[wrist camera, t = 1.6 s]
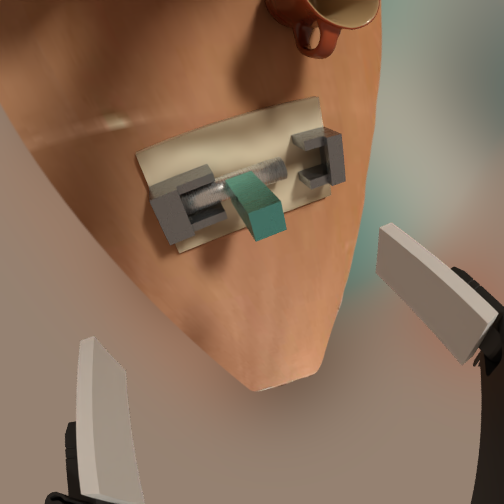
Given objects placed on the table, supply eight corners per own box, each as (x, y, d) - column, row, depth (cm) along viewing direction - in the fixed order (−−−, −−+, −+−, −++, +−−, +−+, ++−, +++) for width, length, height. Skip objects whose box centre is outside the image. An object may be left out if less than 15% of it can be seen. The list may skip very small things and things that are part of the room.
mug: (261, -34, 20) (303, -65, 12) (328, -14, 23) (383, -28, 15) (245, 52, 26) (285, 45, 18) (314, 66, 29) (369, 71, 21)
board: (135, 152, 29) (135, 154, 28) (314, 96, 31) (318, 97, 31) (178, 249, 38) (179, 253, 37) (327, 192, 40) (331, 195, 39)
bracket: (148, 186, 31) (149, 200, 28) (207, 163, 32) (214, 175, 28) (167, 227, 34) (170, 245, 31) (221, 206, 35) (229, 221, 32)
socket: (291, 134, 33) (307, 143, 30) (323, 126, 33) (341, 133, 30) (299, 179, 36) (314, 192, 33) (328, 170, 37) (345, 181, 34)
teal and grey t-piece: (153, 197, 32) (157, 249, 23) (275, 153, 33) (321, 186, 25) (163, 218, 33) (171, 275, 25) (279, 175, 35) (324, 214, 27)
